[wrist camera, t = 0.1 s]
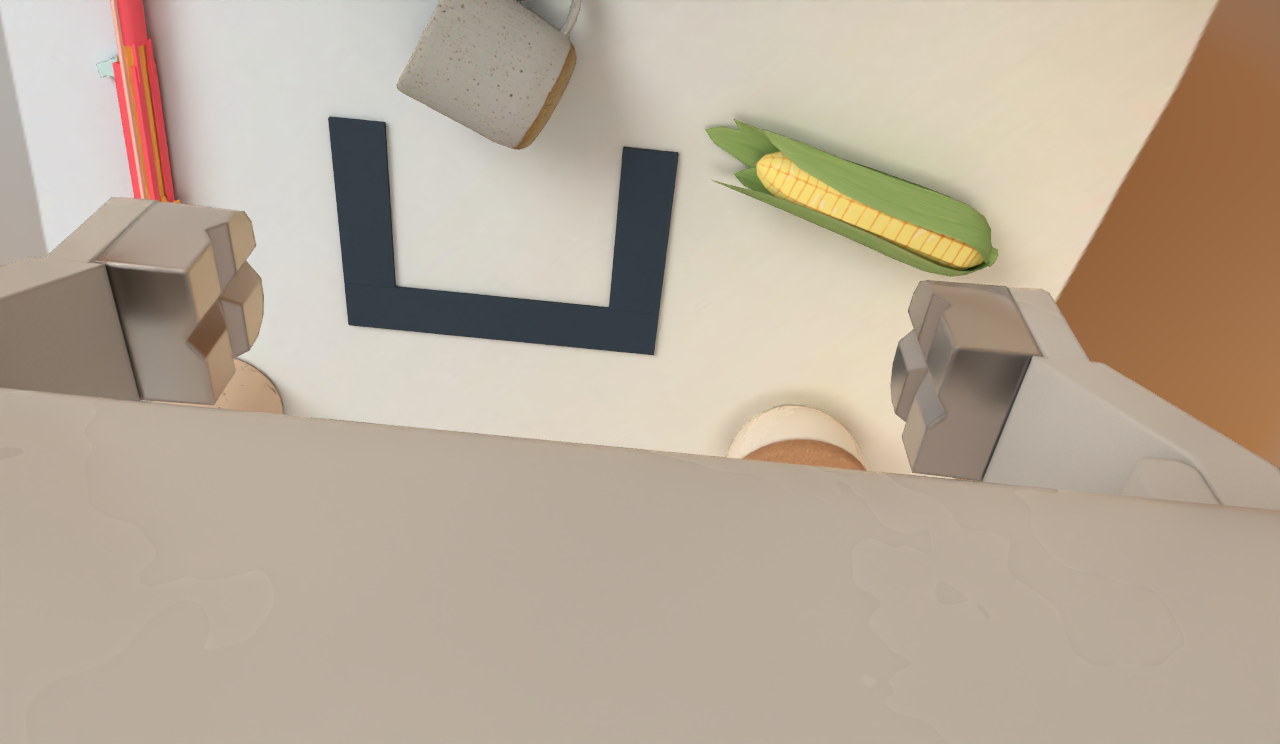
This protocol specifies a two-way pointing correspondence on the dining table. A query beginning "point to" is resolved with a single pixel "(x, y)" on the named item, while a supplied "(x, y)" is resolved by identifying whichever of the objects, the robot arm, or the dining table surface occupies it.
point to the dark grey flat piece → (491, 316)
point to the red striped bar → (139, 103)
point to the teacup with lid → (246, 392)
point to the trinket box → (797, 439)
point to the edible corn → (860, 202)
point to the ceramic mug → (492, 67)
